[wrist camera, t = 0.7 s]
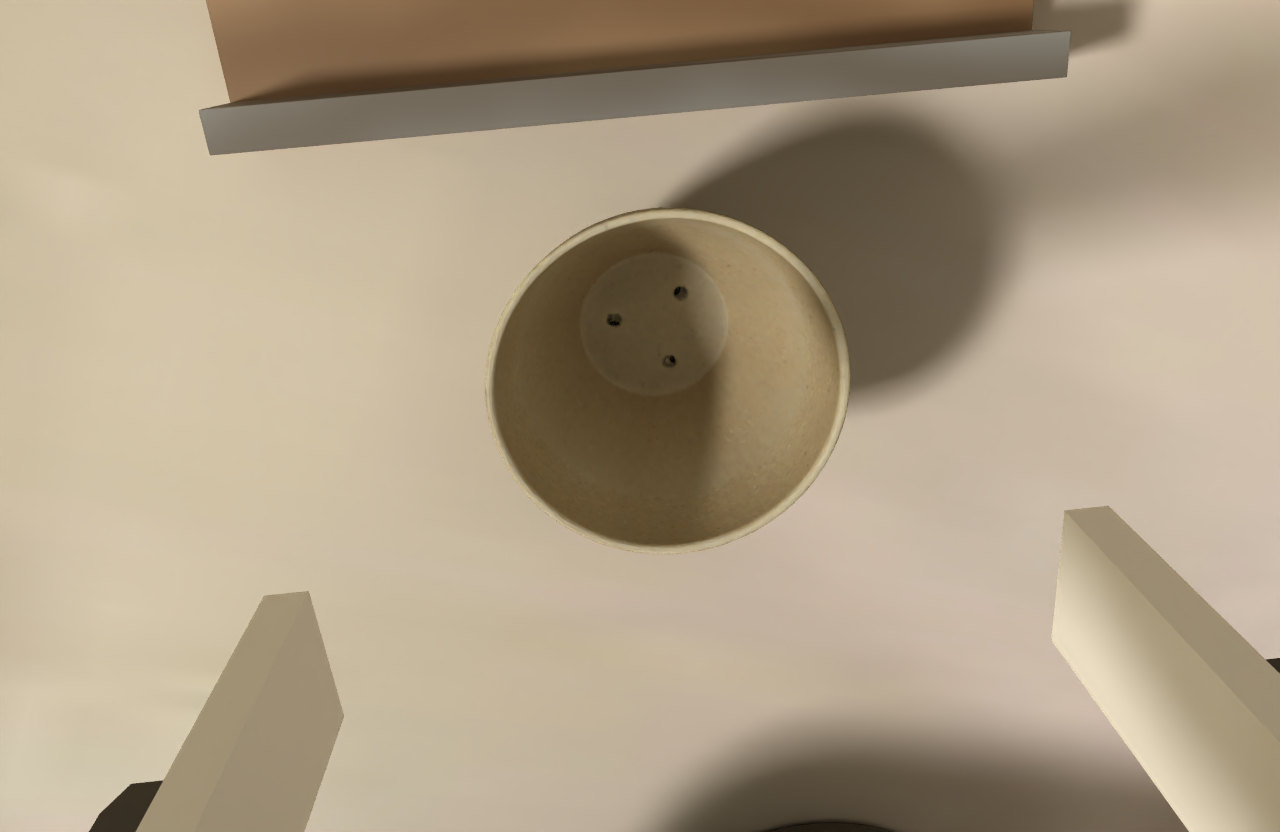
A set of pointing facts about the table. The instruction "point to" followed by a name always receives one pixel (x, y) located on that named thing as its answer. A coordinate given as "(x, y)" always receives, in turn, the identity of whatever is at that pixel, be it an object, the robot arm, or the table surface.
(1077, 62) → the table surface
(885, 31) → the brown piece
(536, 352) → the flower pot
